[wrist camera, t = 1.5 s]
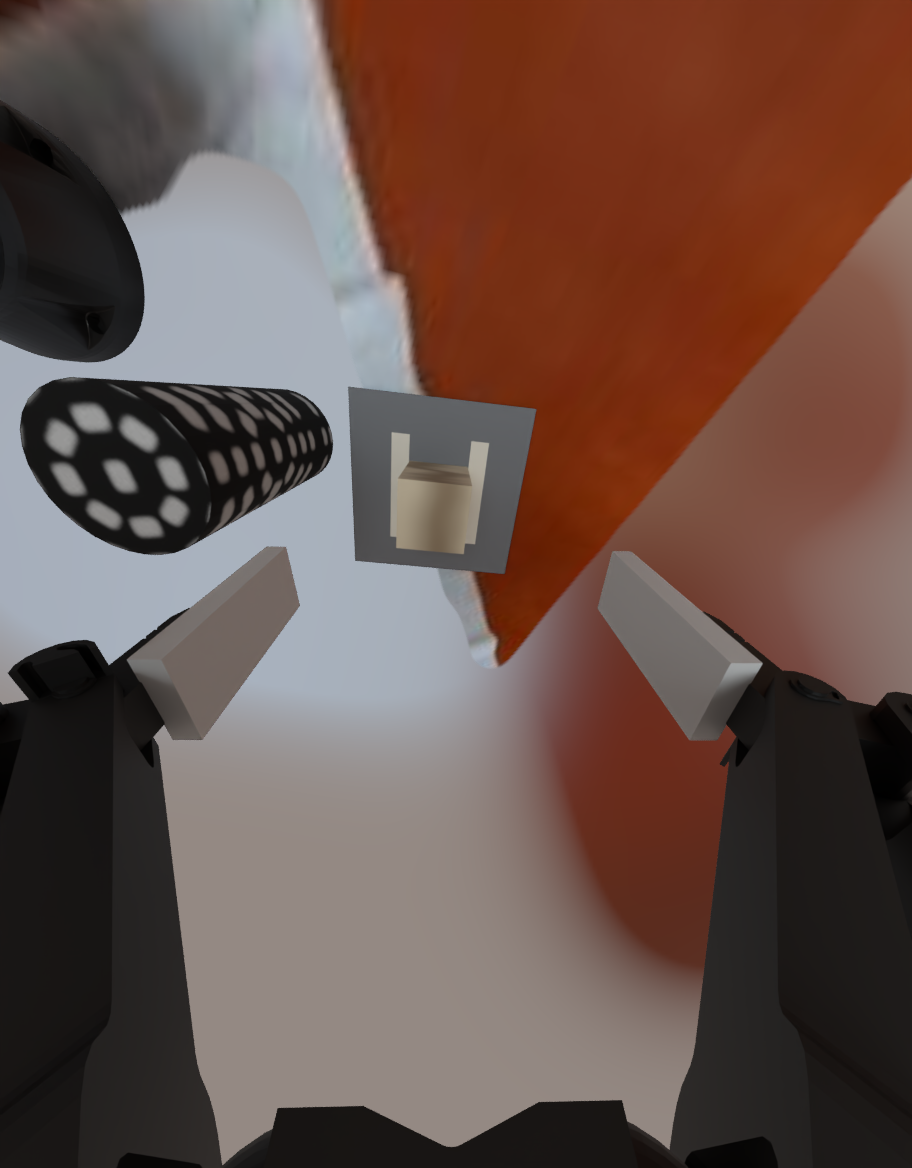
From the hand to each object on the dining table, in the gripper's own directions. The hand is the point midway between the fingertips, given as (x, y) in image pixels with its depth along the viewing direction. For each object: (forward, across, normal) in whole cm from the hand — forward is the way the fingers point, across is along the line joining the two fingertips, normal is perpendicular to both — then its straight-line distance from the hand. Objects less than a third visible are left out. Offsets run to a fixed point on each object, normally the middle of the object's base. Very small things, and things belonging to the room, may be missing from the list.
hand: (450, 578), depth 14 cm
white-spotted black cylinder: (+25, -16, +3) cm, 30 cm away
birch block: (+24, -2, -2) cm, 25 cm away
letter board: (+25, -2, -2) cm, 25 cm away
